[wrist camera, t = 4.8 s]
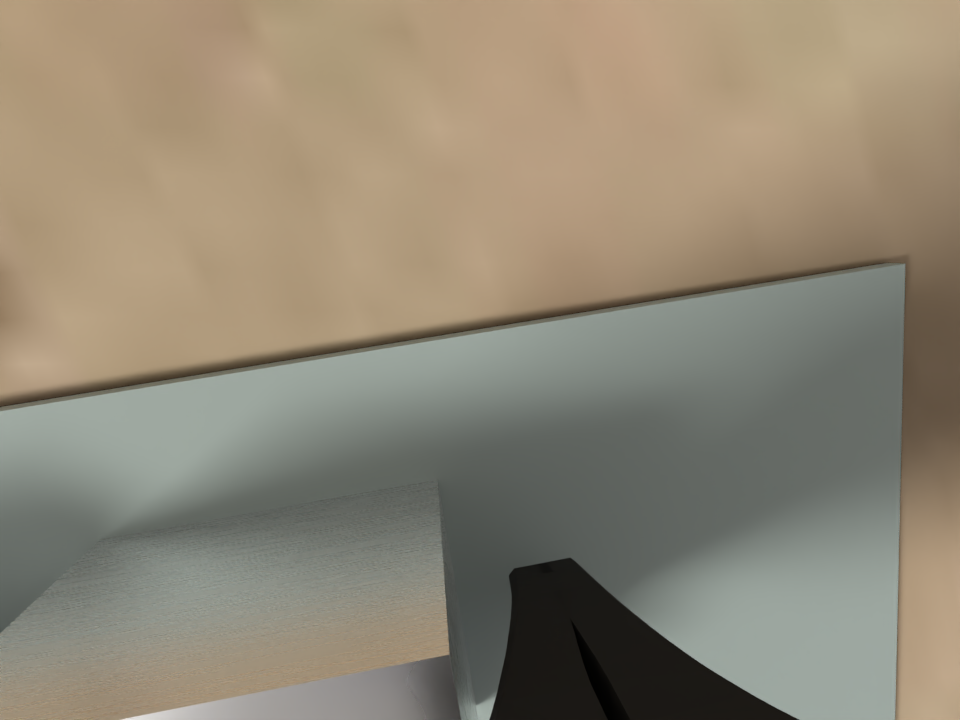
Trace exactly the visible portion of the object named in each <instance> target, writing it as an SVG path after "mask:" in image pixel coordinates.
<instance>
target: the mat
mask: <svg viewBox="0 0 960 720" xmlns="http://www.w3.org/2000/svg"><path fill="white" fill-rule="evenodd" d="M904 302H905V264H901V263H884V264H877V265H871V266H865V267H859V268H853V269H847V270H841V271H834V272H828V273H822V274H816V275H810V276H804V277H797V278H791V279H785V280H779V281H773V282H767V283H761V284H754V285H748V286H742V287H736V288H730V289H724V290H717V291H711V292H705V293H699V294H693V295H687V296H681V297H674V298H668V299H662V300H656V301H650V302H644V303H637V304H631V305H625V306H619V307H613V308H607V309H601V310H594V311H588V312H582V313H576V314H570V315H564V316H557V317H551V318H545V319H539V320H533V321H527V322H521V323H514V324H508V325H502V326H496V327H490V328H484V329H477V330H471V331H465V332H459V333H453V334H447V335H440V336H434V337H428V338H422V339H416V340H410V341H404V342H397V343H391V344H385V345H379V346H373V347H367V348H360V349H354V350H348V351H342V352H336V353H330V354H324V355H317V356H311V357H305V358H299V359H293V360H287V361H280V362H274V363H268V364H262V365H256V366H250V367H244V368H237V369H231V370H225V371H219V372H213V373H207V374H200V375H194V376H188V377H182V378H176V379H170V380H164V381H157V382H151V383H145V384H139V385H133V386H127V387H120V388H114V389H108V390H102V391H96V392H90V393H84V394H77V395H71V396H65V397H59V398H53V399H47V400H40V401H34V402H28V403H22V404H16V405H10V406H3V407H0V633H1V632H2V631H3V630H4V629H6V628H7V627H8V626H9V625H10V624H11V623H12V622H13V621H14V620H15V619H16V618H17V617H18V616H19V615H20V614H21V613H22V612H24V611H25V610H26V609H27V608H28V607H29V606H30V605H31V604H32V603H33V602H34V601H35V600H36V599H37V598H38V597H39V596H40V595H42V594H43V593H44V592H45V591H46V590H47V589H48V588H49V587H50V586H51V585H52V584H53V583H54V582H55V581H56V580H57V579H59V578H60V577H61V576H62V575H63V574H64V573H65V572H66V571H67V570H68V569H69V568H70V567H71V566H72V565H73V564H74V563H75V562H77V561H78V560H79V559H80V558H81V557H82V556H83V555H84V554H85V553H86V552H87V551H88V550H89V549H90V548H91V547H92V546H93V545H95V544H96V543H97V542H98V541H99V540H100V539H106V538H111V537H117V536H122V535H128V534H134V533H139V532H145V531H150V530H156V529H162V528H167V527H173V526H179V525H184V524H190V523H195V522H201V521H207V520H212V519H218V518H224V517H229V516H235V515H240V514H246V513H252V512H257V511H263V510H268V509H274V508H280V507H285V506H291V505H297V504H302V503H308V502H313V501H319V500H325V499H330V498H336V497H342V496H347V495H353V494H358V493H364V492H370V491H375V490H381V489H387V488H392V487H398V486H404V485H409V484H415V483H421V482H426V481H432V480H438V486H439V491H440V497H441V503H442V509H443V515H444V520H445V526H446V532H447V538H448V544H449V549H450V555H451V561H452V567H453V573H454V578H455V584H456V590H457V596H458V602H459V607H460V613H461V619H462V625H463V631H464V636H465V642H466V648H467V654H468V660H469V665H470V671H471V677H472V683H473V689H474V694H475V700H476V706H477V715H478V720H489V719H490V716H491V713H492V709H493V706H494V702H495V698H496V694H497V690H498V686H499V681H500V677H501V672H502V668H503V664H504V659H505V654H506V648H507V641H508V634H509V627H510V619H511V605H512V594H511V587H510V581H509V574H510V573H511V572H512V571H513V569H514V568H519V567H524V566H529V565H534V564H540V563H545V562H550V561H555V560H560V559H566V558H572V559H573V560H574V561H576V562H577V563H578V564H579V565H580V566H581V567H582V568H583V569H584V570H585V571H586V572H587V573H589V574H590V575H591V576H592V577H593V578H594V579H595V580H596V581H597V582H598V583H599V584H600V585H602V586H603V587H604V588H605V589H606V590H607V591H608V592H609V593H611V594H612V595H613V596H614V597H615V598H616V599H617V600H619V601H620V602H621V603H622V604H623V605H624V606H626V607H627V608H628V609H629V610H630V611H632V612H633V613H634V614H635V615H637V616H638V617H639V618H640V619H642V620H643V621H644V622H645V623H647V624H648V625H649V626H650V627H652V628H653V629H654V630H655V631H657V632H658V633H659V634H661V635H662V636H663V637H665V638H666V639H667V640H669V641H670V642H671V643H673V644H674V645H676V646H677V647H678V648H680V649H681V650H683V651H684V652H685V653H687V654H688V655H690V656H691V657H692V658H694V659H695V660H697V661H698V662H700V663H701V664H703V665H704V666H706V667H707V668H709V669H710V670H712V671H714V672H715V673H717V674H719V675H720V676H722V677H723V678H725V679H727V680H728V681H730V682H732V683H733V684H735V685H737V686H738V687H740V688H742V689H743V690H745V691H747V692H748V693H750V694H752V695H754V696H755V697H757V698H759V699H761V700H763V701H765V702H766V703H768V704H770V705H772V706H774V707H775V708H777V709H779V710H781V711H783V712H785V713H787V714H789V715H791V716H793V717H795V718H797V719H799V720H895V701H896V656H897V612H898V568H899V524H900V479H901V435H902V391H903V346H904Z"/></svg>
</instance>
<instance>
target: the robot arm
mask: <svg viewBox="0 0 960 720" xmlns="http://www.w3.org/2000/svg"><path fill="white" fill-rule="evenodd" d="M509 581H510V587H511V594H512V605H511V619H510V627H509V634H508V641H507V648H506V654H505V659H504V664H503V668H502V672H501V677H500V681H499V686H498V690H497V694H496V698H495V702H494V706H493V709H492V713H491V716H490V719H489V720H799V719H797V718H795V717H793V716H791V715H789V714H787V713H785V712H783V711H781V710H779V709H777V708H775V707H774V706H772V705H770V704H768V703H766V702H765V701H763V700H761V699H759V698H757V697H755V696H754V695H752V694H750V693H748V692H747V691H745V690H743V689H742V688H740V687H738V686H737V685H735V684H733V683H732V682H730V681H728V680H727V679H725V678H723V677H722V676H720V675H719V674H717V673H715V672H714V671H712V670H710V669H709V668H707V667H706V666H704V665H703V664H701V663H700V662H698V661H697V660H695V659H694V658H692V657H691V656H690V655H688V654H687V653H685V652H684V651H683V650H681V649H680V648H678V647H677V646H676V645H674V644H673V643H671V642H670V641H669V640H667V639H666V638H665V637H663V636H662V635H661V634H659V633H658V632H657V631H655V630H654V629H653V628H652V627H650V626H649V625H648V624H647V623H645V622H644V621H643V620H642V619H640V618H639V617H638V616H637V615H635V614H634V613H633V612H632V611H630V610H629V609H628V608H627V607H626V606H624V605H623V604H622V603H621V602H620V601H619V600H617V599H616V598H615V597H614V596H613V595H612V594H611V593H609V592H608V591H607V590H606V589H605V588H604V587H603V586H602V585H600V584H599V583H598V582H597V581H596V580H595V579H594V578H593V577H592V576H591V575H590V574H589V573H587V572H586V571H585V570H584V569H583V568H582V567H581V566H580V565H579V564H578V563H577V562H576V561H574V560H573V559H572V558H566V559H560V560H555V561H550V562H545V563H540V564H534V565H529V566H524V567H519V568H514V569H513V571H512V572H511V573H510V574H509Z"/></svg>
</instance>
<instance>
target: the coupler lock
mask: <svg viewBox="0 0 960 720" xmlns="http://www.w3.org/2000/svg"><path fill="white" fill-rule="evenodd" d="M0 720H478V715H477V706H476V700H475V694H474V689H473V683H472V677H471V671H470V665H469V660H468V654H467V648H466V642H465V636H464V631H463V625H462V619H461V613H460V607H459V602H458V596H457V590H456V584H455V578H454V573H453V567H452V561H451V555H450V549H449V544H448V538H447V532H446V526H445V520H444V515H443V509H442V503H441V497H440V491H439V486H438V480H432V481H426V482H421V483H415V484H409V485H404V486H398V487H392V488H387V489H381V490H375V491H370V492H364V493H358V494H353V495H347V496H342V497H336V498H330V499H325V500H319V501H313V502H308V503H302V504H297V505H291V506H285V507H280V508H274V509H268V510H263V511H257V512H252V513H246V514H240V515H235V516H229V517H224V518H218V519H212V520H207V521H201V522H195V523H190V524H184V525H179V526H173V527H167V528H162V529H156V530H150V531H145V532H139V533H134V534H128V535H122V536H117V537H111V538H106V539H100V540H99V541H98V542H97V543H96V544H95V545H93V546H92V547H91V548H90V549H89V550H88V551H87V552H86V553H85V554H84V555H83V556H82V557H81V558H80V559H79V560H78V561H77V562H75V563H74V564H73V565H72V566H71V567H70V568H69V569H68V570H67V571H66V572H65V573H64V574H63V575H62V576H61V577H60V578H59V579H57V580H56V581H55V582H54V583H53V584H52V585H51V586H50V587H49V588H48V589H47V590H46V591H45V592H44V593H43V594H42V595H40V596H39V597H38V598H37V599H36V600H35V601H34V602H33V603H32V604H31V605H30V606H29V607H28V608H27V609H26V610H25V611H24V612H22V613H21V614H20V615H19V616H18V617H17V618H16V619H15V620H14V621H13V622H12V623H11V624H10V625H9V626H8V627H7V628H6V629H4V630H3V631H2V632H1V633H0Z"/></svg>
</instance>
